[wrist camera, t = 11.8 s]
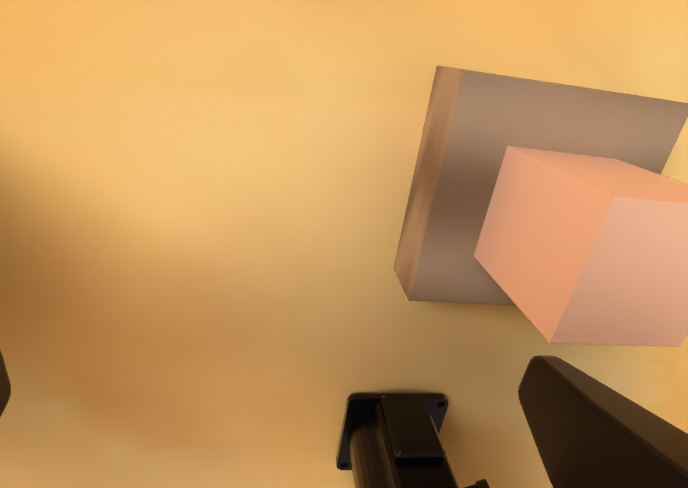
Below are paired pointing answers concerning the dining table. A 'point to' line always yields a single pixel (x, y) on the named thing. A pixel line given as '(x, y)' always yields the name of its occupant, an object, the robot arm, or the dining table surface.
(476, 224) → the walnut base
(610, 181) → the terracotta block
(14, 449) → the dining table surface
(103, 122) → the dining table surface
